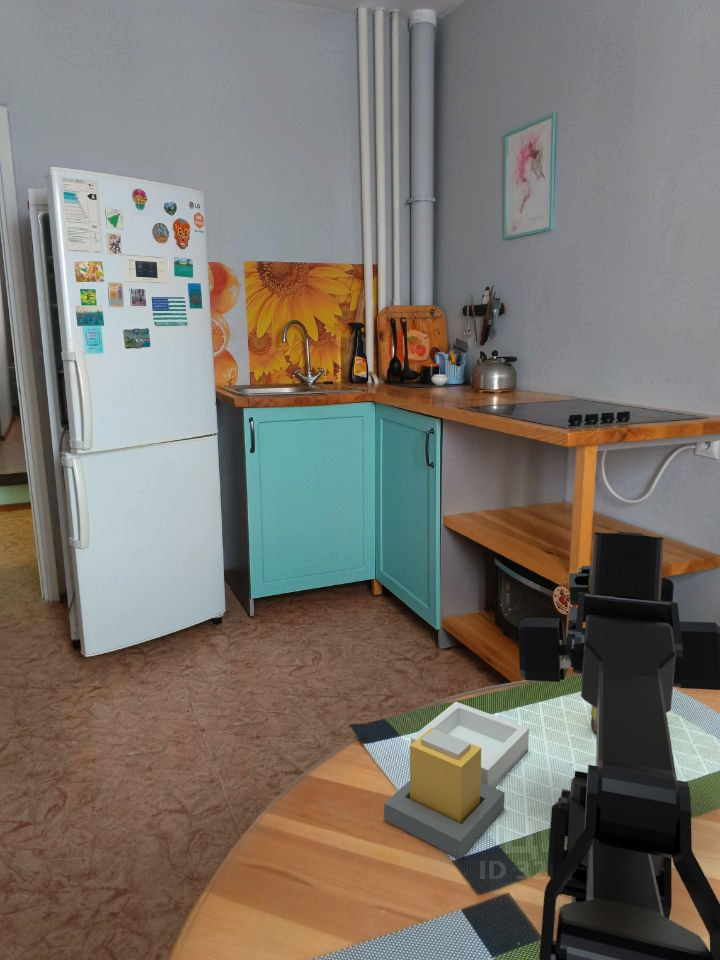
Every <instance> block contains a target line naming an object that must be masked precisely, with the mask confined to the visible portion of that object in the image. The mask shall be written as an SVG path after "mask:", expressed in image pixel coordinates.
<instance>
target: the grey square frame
mask: <svg viewBox="0 0 720 960" xmlns="http://www.w3.org/2000/svg"><path fill="white" fill-rule="evenodd" d="M505 796H506V795H505V791H502V790H500V789H498V788H496V787H494V788H493V787H491V786H489V785H487V784H484V783H482V782H481V784H480V805H479V806H478V807H477V808H476V809H475V810H474V812H473V813H472V814H471V815H470V816H469V817H468V818H467V819H466V820H465V821H464V822H463V823H462V824H460V823H458V822H456V821H454V820H452V819H450V818H447V817H445V816H443V815H441V814H439V813H437V812H435V811H433V810H431V809H429V808H427V807H425V806H423V805H421V804H418V803H416V802H414V801H412V800H410V780H408V781H407V782H406V783H405V784H404V785H403V786H402V787H400V789H398V790H397V791H396V792H395V793H394V794H393V795H392V796H390V797H389V798H388V799H387V800H386V801H385V802H384V803H383V820H384V821H385V822H387V823H388V824H390V825H393V826H395V827H397V828H399V829H400V830H403V831H404V832H406V833H408V834H409V835H412V836H414V837H416V838H418V839H420V840H422V842H423V841H424V842H425V843H427V844H429V845H431V846H433V847H435V848H437V849H439V850H441V851H442V852H445V853H447V854H448V855H449V856H453V857H454V858H455V859H458V860H461V859H462V858H463V857H464V856H465V854H466V853H467V852H468V851H469V850H470V849H471V848H472V846H474V844H475V843H476V842H477V841H478V840H479V838H480V837H481V836H482V835H483V834H484V833H485V831H487V829H488V828H489V827H490V826H491V825H492V824H493V823H494V821H495V820H496V819H497V818H498V817H499V815H500V814H501V813H502V812H503V811H504V810H505ZM470 847H471V848H470ZM469 848H470V849H469ZM467 850H468V851H467Z"/></svg>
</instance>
